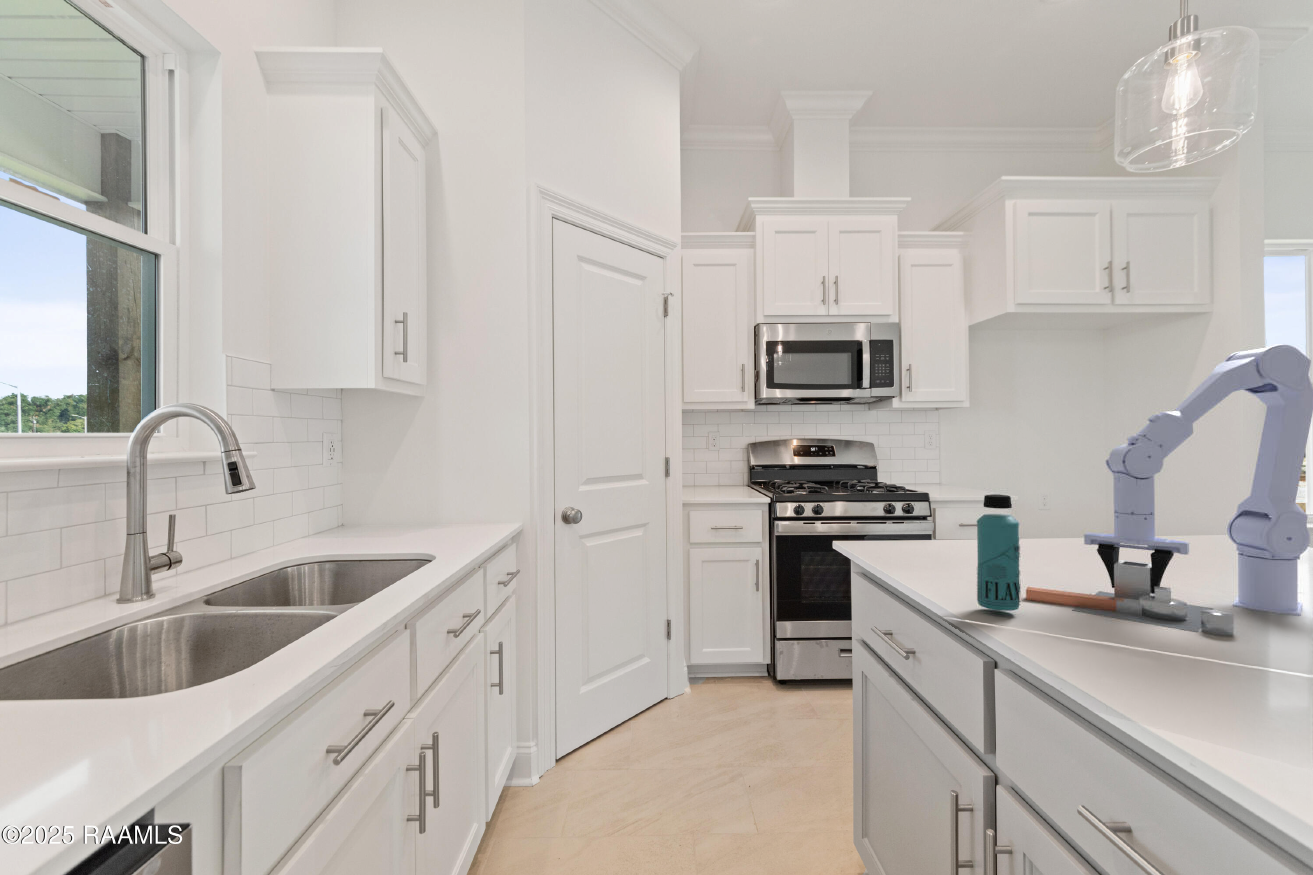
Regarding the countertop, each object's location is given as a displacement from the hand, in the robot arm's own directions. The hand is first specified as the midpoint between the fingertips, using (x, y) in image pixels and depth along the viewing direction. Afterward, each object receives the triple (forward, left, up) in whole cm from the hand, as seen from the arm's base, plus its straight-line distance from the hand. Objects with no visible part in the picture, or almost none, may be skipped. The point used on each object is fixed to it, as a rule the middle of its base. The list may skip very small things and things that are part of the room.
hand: (1135, 589), depth 109 cm
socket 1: (0, 0, -1) cm, 1 cm away
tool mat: (+5, +2, -2) cm, 6 cm away
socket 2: (+12, +12, -2) cm, 17 cm away
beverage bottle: (+24, -14, -3) cm, 28 cm away
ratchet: (+9, -3, -2) cm, 10 cm away
